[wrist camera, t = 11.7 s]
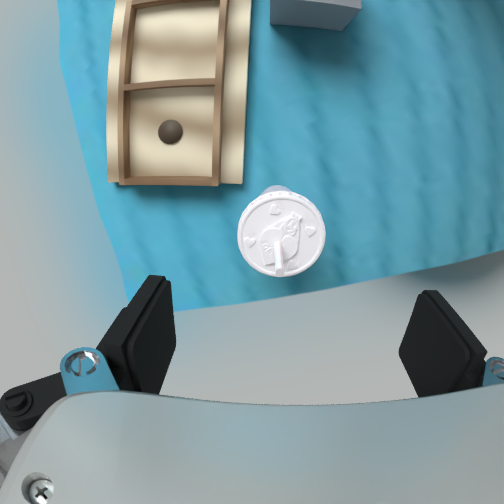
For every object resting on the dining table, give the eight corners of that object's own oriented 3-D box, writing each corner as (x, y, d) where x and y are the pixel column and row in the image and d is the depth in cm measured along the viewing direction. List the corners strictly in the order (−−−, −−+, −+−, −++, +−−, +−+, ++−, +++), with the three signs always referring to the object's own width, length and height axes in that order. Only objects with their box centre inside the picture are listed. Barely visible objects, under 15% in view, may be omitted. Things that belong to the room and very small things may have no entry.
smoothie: (233, 214, 31) (210, 281, 19) (266, 159, 29) (265, 189, 16) (287, 244, 32) (299, 325, 20) (321, 193, 30) (360, 247, 17)
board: (130, -47, 19) (111, -65, 14) (255, -61, 19) (253, -86, 14) (113, 180, 30) (89, 191, 26) (243, 181, 30) (238, 193, 25)
